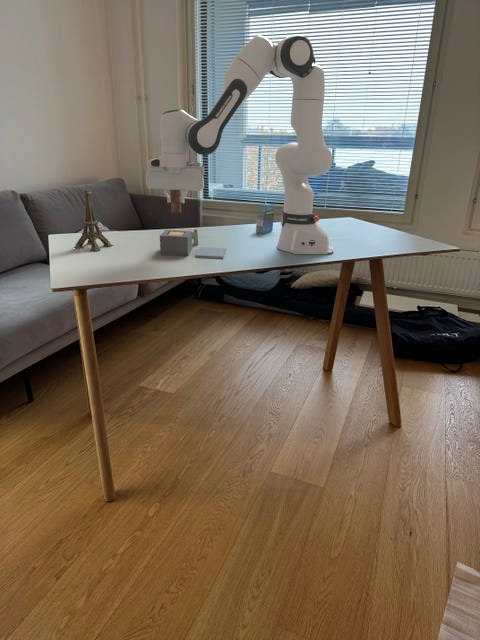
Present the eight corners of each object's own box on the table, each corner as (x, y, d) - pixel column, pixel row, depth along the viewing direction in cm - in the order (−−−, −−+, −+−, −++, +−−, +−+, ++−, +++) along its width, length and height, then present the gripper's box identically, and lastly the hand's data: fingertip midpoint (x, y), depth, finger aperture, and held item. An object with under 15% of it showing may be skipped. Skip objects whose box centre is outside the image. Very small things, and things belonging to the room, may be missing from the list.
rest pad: (225, 250, 164) (225, 248, 164) (223, 258, 153) (223, 256, 153) (200, 248, 164) (200, 246, 164) (195, 257, 153) (195, 255, 153)
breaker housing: (192, 249, 163) (191, 231, 161) (187, 256, 154) (187, 237, 151) (166, 247, 164) (165, 229, 161) (160, 254, 155) (159, 235, 152)
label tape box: (265, 229, 201) (267, 203, 196) (273, 230, 199) (275, 204, 193) (255, 232, 194) (256, 205, 189) (262, 234, 192) (264, 206, 187)
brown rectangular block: (181, 211, 154) (180, 188, 151) (179, 213, 152) (178, 189, 148) (172, 211, 154) (172, 188, 151) (171, 212, 152) (170, 189, 148)
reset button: (184, 240, 160) (184, 232, 158) (182, 243, 155) (182, 235, 154) (170, 239, 160) (170, 231, 159) (168, 242, 155) (167, 234, 154)
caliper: (198, 245, 169) (198, 230, 167) (195, 246, 169) (195, 230, 166) (184, 234, 186) (184, 220, 184) (182, 234, 186) (181, 220, 184)
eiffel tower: (72, 248, 158) (63, 178, 148) (90, 242, 167) (83, 176, 157) (96, 252, 155) (88, 180, 145) (113, 245, 164) (107, 178, 154)
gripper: (205, 161, 148) (205, 202, 154) (147, 160, 149) (150, 200, 155) (203, 163, 143) (203, 205, 148) (143, 161, 143) (145, 203, 149)
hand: (175, 202), depth 152 cm, fingers closed on brown rectangular block, 3 cm apart
